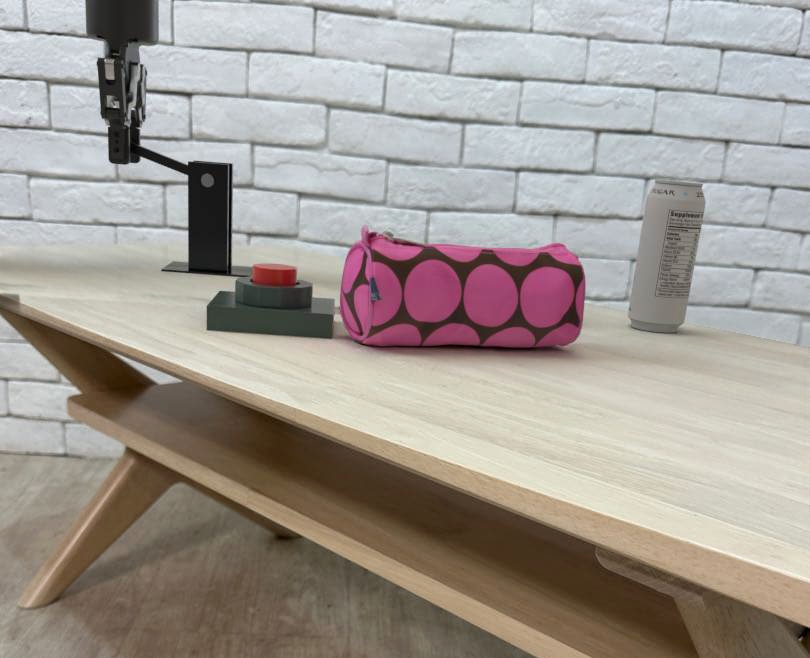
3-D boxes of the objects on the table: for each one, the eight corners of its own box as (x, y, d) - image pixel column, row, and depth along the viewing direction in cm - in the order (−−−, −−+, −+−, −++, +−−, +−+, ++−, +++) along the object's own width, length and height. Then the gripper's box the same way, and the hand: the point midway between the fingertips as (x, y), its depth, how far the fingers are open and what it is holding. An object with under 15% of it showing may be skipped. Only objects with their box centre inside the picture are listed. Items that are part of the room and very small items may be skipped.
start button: (250, 287, 88) (250, 267, 88) (254, 281, 92) (254, 262, 92) (295, 291, 89) (296, 270, 88) (297, 284, 92) (298, 265, 92)
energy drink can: (660, 323, 112) (684, 181, 106) (694, 333, 106) (721, 185, 101) (615, 322, 109) (637, 178, 104) (647, 333, 104) (672, 182, 99)
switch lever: (110, 153, 109) (116, 131, 108) (120, 152, 114) (125, 131, 113) (216, 195, 111) (223, 174, 110) (222, 193, 116) (228, 172, 115)
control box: (206, 330, 87) (206, 284, 86) (219, 313, 96) (219, 271, 94) (332, 339, 88) (334, 293, 87) (334, 321, 96) (336, 279, 95)
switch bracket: (161, 280, 113) (159, 159, 108) (173, 271, 120) (172, 158, 115) (250, 286, 114) (252, 167, 109) (256, 277, 121) (258, 165, 116)
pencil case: (365, 358, 82) (373, 231, 78) (331, 334, 90) (337, 219, 86) (591, 358, 89) (608, 242, 85) (540, 336, 98) (554, 230, 94)
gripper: (101, -3, 112) (105, 159, 118) (67, -22, 99) (74, 161, 105) (169, 4, 112) (169, 164, 119) (144, -14, 99) (146, 168, 105)
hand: (125, 162), depth 112 cm, fingers closed on switch lever, 5 cm apart
